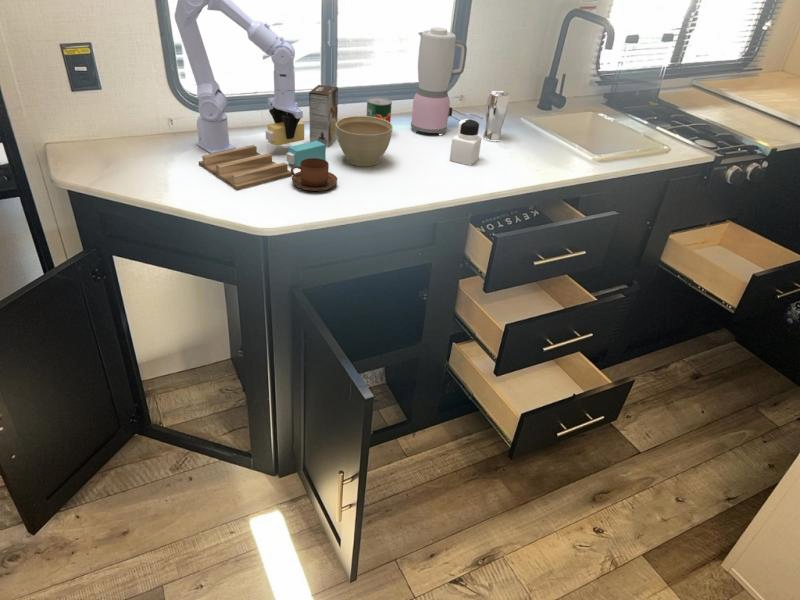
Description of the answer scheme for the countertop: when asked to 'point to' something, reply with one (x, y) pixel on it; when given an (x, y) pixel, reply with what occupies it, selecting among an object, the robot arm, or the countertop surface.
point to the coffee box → (323, 114)
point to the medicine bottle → (466, 143)
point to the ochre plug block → (283, 134)
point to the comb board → (246, 184)
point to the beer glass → (495, 114)
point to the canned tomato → (379, 108)
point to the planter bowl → (363, 139)
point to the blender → (435, 79)
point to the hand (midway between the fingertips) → (285, 135)
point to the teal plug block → (305, 152)
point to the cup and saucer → (313, 175)
